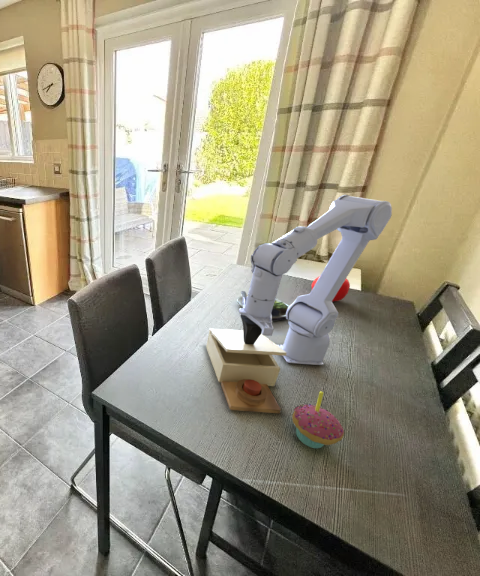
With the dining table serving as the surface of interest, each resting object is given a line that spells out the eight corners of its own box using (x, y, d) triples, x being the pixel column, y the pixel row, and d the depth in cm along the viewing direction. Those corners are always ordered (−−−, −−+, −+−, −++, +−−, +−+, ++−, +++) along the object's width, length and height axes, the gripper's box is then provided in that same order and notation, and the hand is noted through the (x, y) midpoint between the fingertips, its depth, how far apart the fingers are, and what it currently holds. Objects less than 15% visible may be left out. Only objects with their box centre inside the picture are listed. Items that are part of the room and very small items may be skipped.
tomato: (352, 305, 113) (363, 280, 108) (318, 305, 113) (327, 280, 108) (332, 291, 123) (341, 268, 118) (300, 291, 123) (308, 268, 118)
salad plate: (222, 297, 119) (224, 286, 117) (262, 292, 122) (265, 282, 120) (256, 324, 102) (259, 312, 100) (301, 317, 105) (305, 306, 103)
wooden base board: (265, 387, 76) (269, 378, 75) (279, 413, 69) (283, 404, 68) (220, 384, 77) (222, 375, 76) (229, 409, 70) (232, 400, 69)
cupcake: (278, 422, 67) (294, 381, 62) (314, 419, 68) (333, 378, 62) (305, 459, 59) (326, 416, 54) (346, 456, 60) (370, 412, 55)
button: (256, 385, 73) (258, 379, 73) (262, 396, 70) (263, 391, 69) (240, 384, 74) (242, 378, 73) (245, 395, 71) (247, 389, 70)
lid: (286, 355, 72) (286, 352, 72) (226, 352, 73) (227, 349, 73) (258, 333, 87) (258, 331, 87) (209, 331, 88) (209, 328, 88)
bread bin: (274, 386, 77) (280, 368, 74) (218, 382, 78) (222, 364, 75) (253, 350, 90) (258, 333, 87) (206, 347, 91) (209, 331, 88)
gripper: (234, 281, 78) (224, 325, 84) (255, 310, 65) (241, 360, 71) (263, 282, 77) (251, 327, 83) (290, 311, 64) (273, 362, 70)
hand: (248, 342), depth 77 cm, fingers closed
